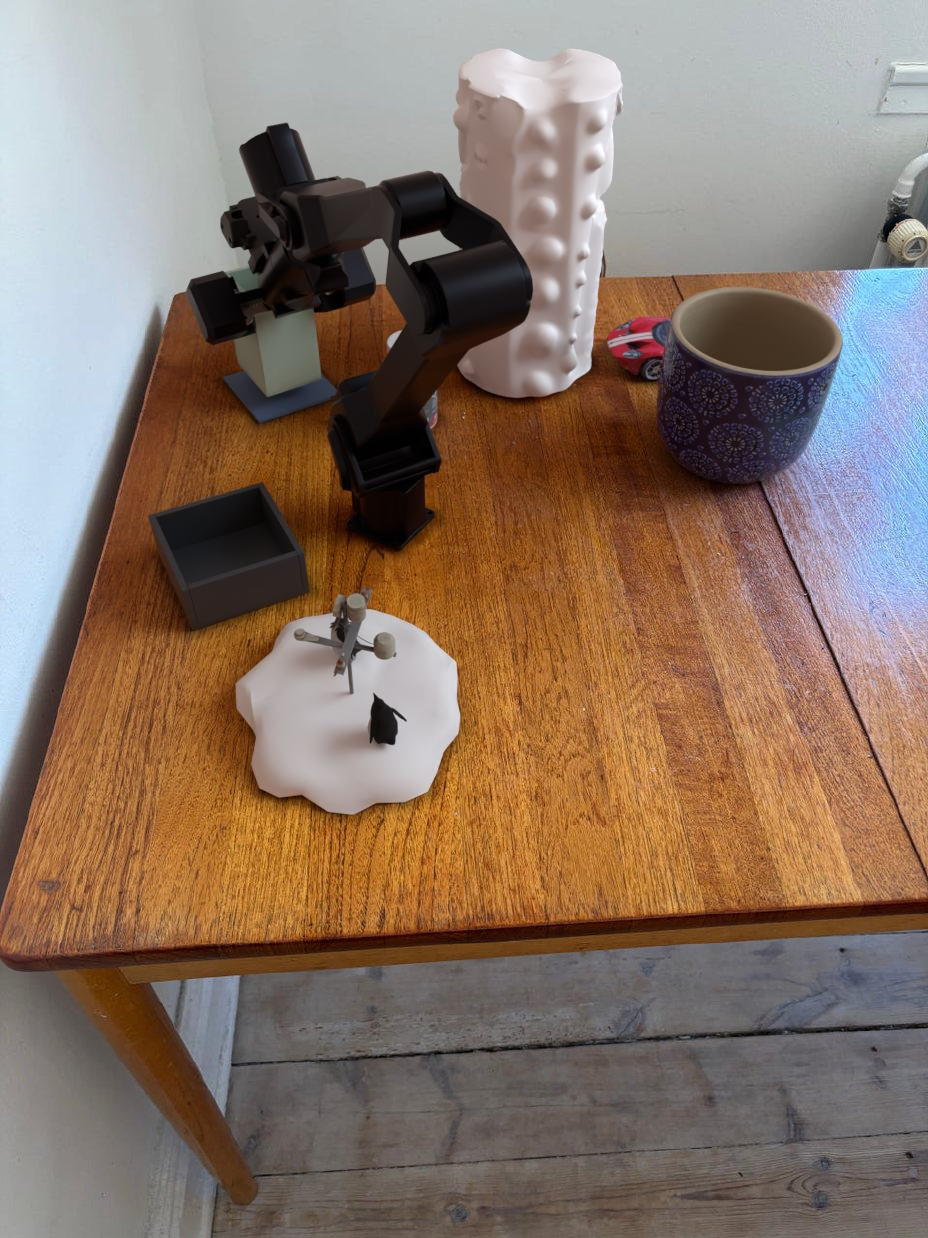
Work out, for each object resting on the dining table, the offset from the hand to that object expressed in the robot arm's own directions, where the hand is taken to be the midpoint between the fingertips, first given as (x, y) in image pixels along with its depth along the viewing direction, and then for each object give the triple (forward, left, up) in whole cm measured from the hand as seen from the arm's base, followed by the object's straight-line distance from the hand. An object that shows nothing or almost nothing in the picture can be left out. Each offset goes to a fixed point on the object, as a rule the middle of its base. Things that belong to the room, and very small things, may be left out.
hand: (267, 316), depth 110 cm
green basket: (-1, +1, -6) cm, 6 cm away
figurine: (-36, +33, -9) cm, 50 cm away
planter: (-48, -17, -9) cm, 52 cm away
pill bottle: (-17, -3, -9) cm, 19 cm away
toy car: (-38, -32, -9) cm, 50 cm away
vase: (-21, -20, -9) cm, 30 cm away
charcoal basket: (-17, +26, -8) cm, 33 cm away
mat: (-1, 0, -8) cm, 8 cm away
